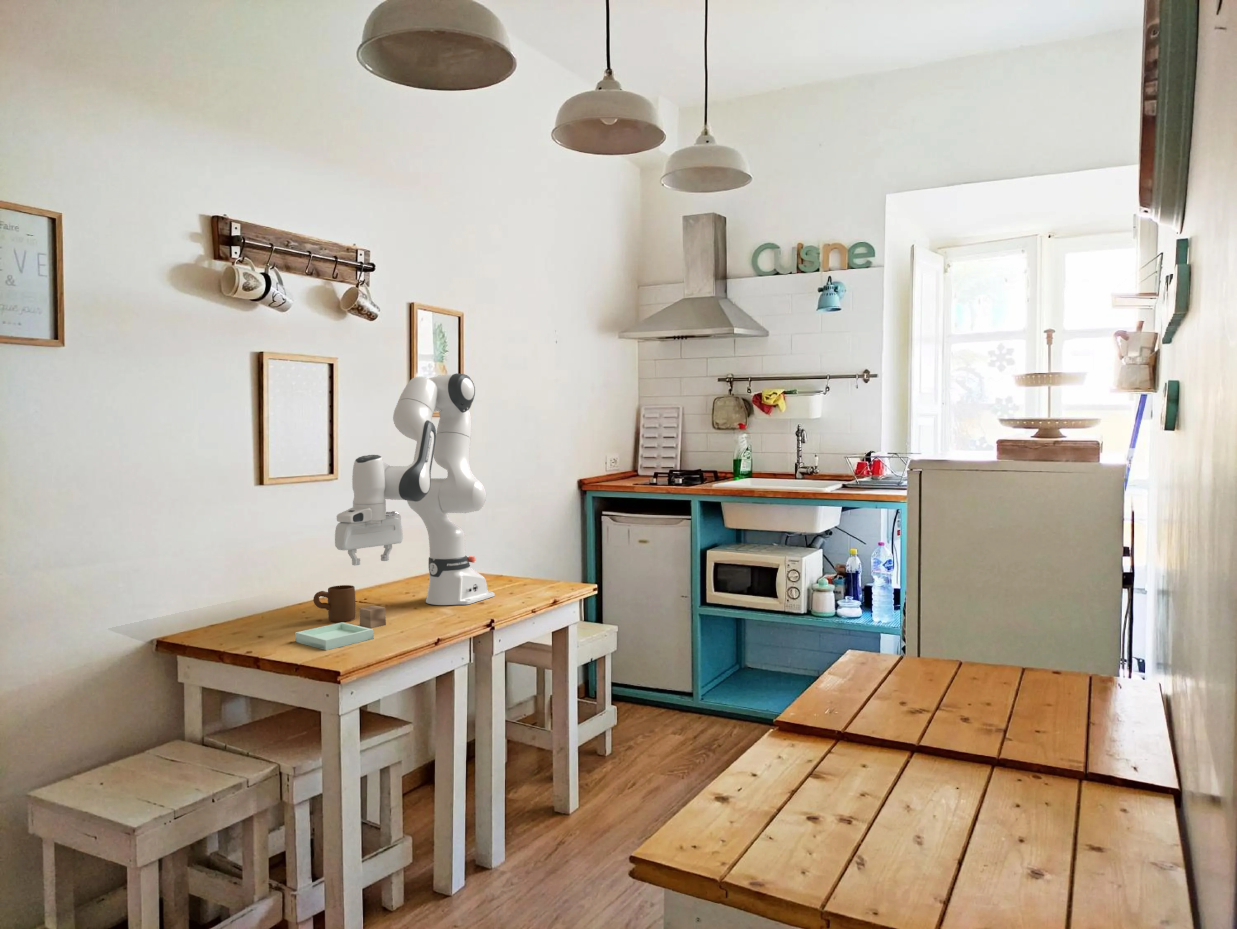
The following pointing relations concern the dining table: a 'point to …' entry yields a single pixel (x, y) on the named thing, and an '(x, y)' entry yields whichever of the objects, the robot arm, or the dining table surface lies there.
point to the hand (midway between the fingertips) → (370, 562)
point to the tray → (334, 635)
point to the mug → (338, 603)
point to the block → (372, 616)
